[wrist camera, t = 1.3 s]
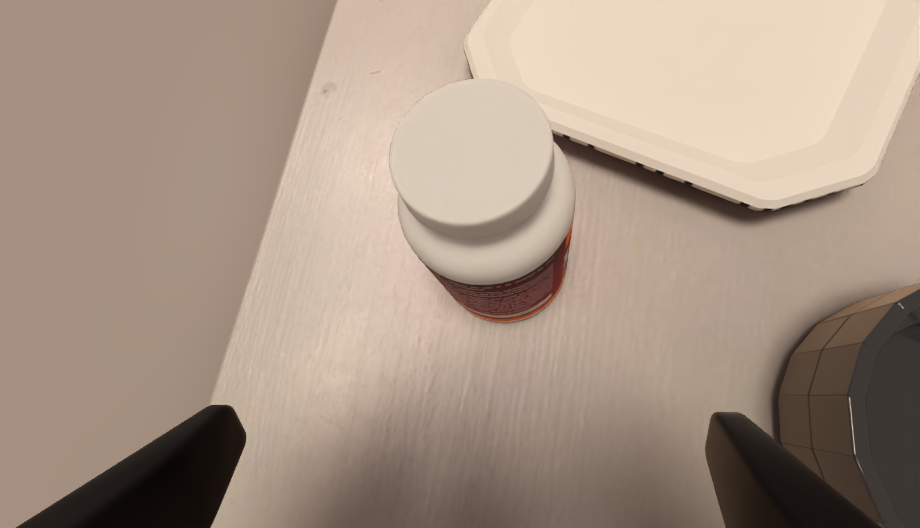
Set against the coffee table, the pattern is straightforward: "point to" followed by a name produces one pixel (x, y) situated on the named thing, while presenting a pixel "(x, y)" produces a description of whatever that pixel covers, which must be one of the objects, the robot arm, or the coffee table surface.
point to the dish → (861, 405)
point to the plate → (715, 85)
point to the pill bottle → (485, 196)
